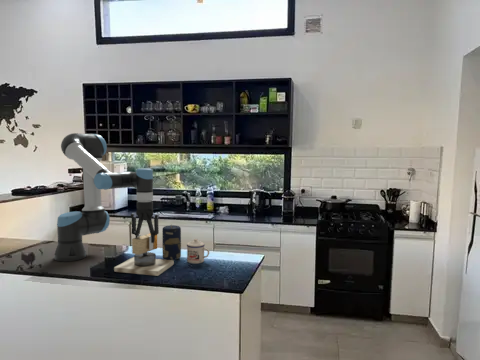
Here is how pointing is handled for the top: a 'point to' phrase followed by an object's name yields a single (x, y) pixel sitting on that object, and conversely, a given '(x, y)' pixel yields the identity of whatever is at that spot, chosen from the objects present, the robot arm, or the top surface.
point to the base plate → (144, 267)
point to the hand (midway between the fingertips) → (145, 248)
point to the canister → (171, 242)
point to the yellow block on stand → (143, 251)
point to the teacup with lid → (196, 251)
